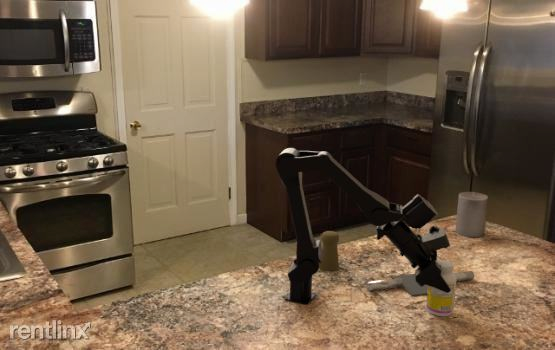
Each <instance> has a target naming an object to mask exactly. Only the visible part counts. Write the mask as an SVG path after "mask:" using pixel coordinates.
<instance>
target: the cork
mask: <svg viewBox="0 0 555 350" xmlns="http://www.w3.org/2000/svg"><path fill="white" fill-rule="evenodd" d="M320 237H321V239H320V240H321V243H322V245H321V248H322V251H323V252H324V254H323V258H322V262H321V263H320V266H319V270H321V271H324V272H331V273H332V272H337V271H339V269H340V261H339V252H338V250H339V249H338V243H339V241H340V235H339V233H338V232H336V231H334V230H333V231H332V230H326V231H324V232H322V234H321V236H320Z"/></svg>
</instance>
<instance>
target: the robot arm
mask: <svg viewBox="0 0 555 350" xmlns="http://www.w3.org/2000/svg"><path fill="white" fill-rule="evenodd" d="M274 163H275V169H276V172H277V174H278V176H279V179H280V181H281V183H282V184H283V186H284V187H285V191H286V195H287V199H288V204H289V209H290V210H289V211H290V215H291V219H292V223H293V230H294V234H295V238H296V253H295V255H296V256H295V257H296V258H295V259H294V260H292V263H291V264H290V268H289V271H288V273H287V278H288V279H289V280H288V281H289V292H288V293H287V295H286V296H285V297H284V300H285V301H289V302H294V303H296V304H297V303H299V304H302V305H309V304H311V301H312V300H313V299H314V298H315V297H316V296H317V292H312V291H313V290H312V289H313V276H314V275H315V274H317V272H319V270H320V269H319V266H320V263H321V262H322V258H323V254H324V252H323V251H322V240H321V239H317V240H316V239H315V237H314V235H313V232H312V226H311V222H310V217H309V211H308V207H307V202H306V198H305V194H304V193H305V192H304V189H303V188H304V187H303V173H305V172H312V171H321V172H322V173H323V174H325V176H327V177H328V178H329V179H330V180H331V181H332V182H333V183H334V184H336V186H338V188H339V189H341V190H342V191H343V192H344V193H345V194H346V195H347V196H348V197H350V198H351V200H353V201H354V202H355V204H356V205H357V207H358V208H359V210H360V212H361V213H362V214H363V216H364V217H365V218H366V219H367V221H368V223H370V224H371V225H372V226H374V227H376V232H377V233H376V240H379V241H380V240H381V239H382V238H384V237H386V238H387V239H388V240H389V242H391V243H392V245H394V247H395V248H396V249H397V250H398V252H399V254H400V256H401V257H405V258H406V259H407V261H409V263H410V266H411V268H412V269H415V268H416V267H418V268H416V269H415V270H414V274H415V281H416V282H417V283H418V284H419V285H420V286H421V287H422V286H424V285H428V286H431V287H434V288H436V289H439V290H441V291H444V292H446V293H449V292H450V291H451V289H450V287H449V286H448V284H447V283H446V281H445V280H444V278H443V277H442V275H441V271H442V268H441V265H439V264H438V263H437V260H438V251H439V250H442V249H447V248H449V247H451V243H450V241H449V239H448V236H447V233H446V231H445V229H443V228H439V227H438V226H437V225H436V224H434V225H431V226H429V229H428V230H429V231H428V232H427V233H426V234H425V235H421V234H420V233H419V232H414V230H417V229H418V230H421V229H422V228H424V226H426V225H427V224H429V222H431V221H432V220H434V219H435V218H436V217H437V216H439V213H438V212H437V210H436V209H435V207H434V206H433V205H432V204H431V202H430V201H428V200H426V199H425V198H424V197H423V196H421V195H420V194H419V193H417V194H416V195H414V197H412V199H411V200H410V201H408V202H407V203H405V205H402V204H398V203H394V202H389V200H387V199H386V198H385V197H383V196H382V195H379V194H378V193H376V191H375V192H374V191H372V190H370V189H368V188H367V187H365V186H364V185H363V184H362V183H361V182H360V181H359V180H358V179H357V178H356V177H354V176H353V175H352V174H351V173H350V172H349V171H348V170H347V169H346V168H344V166H342V165H341V164H340V163H339V161H337V160H336V159H335V158H333V156H332V155H331V153H330V152H328V151H311V150H297V149H296V148H294V147H288V148H285V149H283V150H282V151H281V153H279V155H278V156H277V157H276V160H275V162H274ZM412 229H414V230H412Z"/></svg>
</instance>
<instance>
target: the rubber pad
mask: <svg viewBox="0 0 555 350" xmlns="http://www.w3.org/2000/svg"><path fill="white" fill-rule="evenodd" d="M398 278H402V279H403V282H404V285H403V287H401V288H402V289H403V290H404V291H405V292H407V293H408V294H409V295H410V296H411V297H419V296H427V291H428V285H424V286H422V287H421V286H420V285H419V284H418V283H417V282H416V281H415V273H411V274H401V275H391V279H398Z"/></svg>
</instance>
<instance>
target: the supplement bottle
mask: <svg viewBox="0 0 555 350" xmlns="http://www.w3.org/2000/svg"><path fill="white" fill-rule="evenodd" d="M437 263H438V264H439V265H441V268H442V271H441V275H442V277H443V278H444V280H445V281H446V283H447V284H448V286H449V287H450V289H451V291H450V292H449V293H446V292H444V291H441V290H439V289H436V288H434V287H431V286H428V291H427V295H426V302H425V303H426V304H425V305H426V306H425V307H426V310H427V312H429V313H430V314H432V315H434V316H438V317H449V316H451V315H452V314H453V313H454V309H455V299H456V298H455V297H456V290H457V289H456V287H457V281H456V280H457V278H456V275H455V274H454V273H455V272H453V271H454V265H455V264H454V263H453V262H452V261H449V260H444V259H437Z"/></svg>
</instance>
